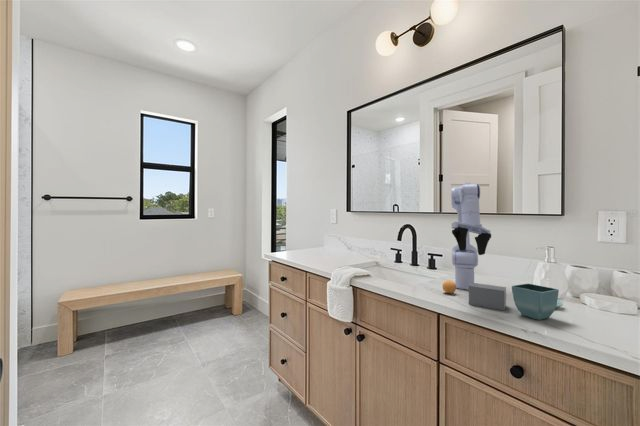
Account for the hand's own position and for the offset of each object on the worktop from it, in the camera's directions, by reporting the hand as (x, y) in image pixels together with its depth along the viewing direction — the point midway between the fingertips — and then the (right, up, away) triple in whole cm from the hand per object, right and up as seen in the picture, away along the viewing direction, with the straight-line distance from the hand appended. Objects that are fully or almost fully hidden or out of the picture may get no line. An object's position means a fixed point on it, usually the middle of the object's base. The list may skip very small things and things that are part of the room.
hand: (472, 252), depth 96 cm
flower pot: (+14, -19, -9) cm, 25 cm away
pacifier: (+26, -19, 0) cm, 32 cm away
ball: (0, -16, +16) cm, 23 cm away
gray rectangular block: (+6, -19, +2) cm, 20 cm away
